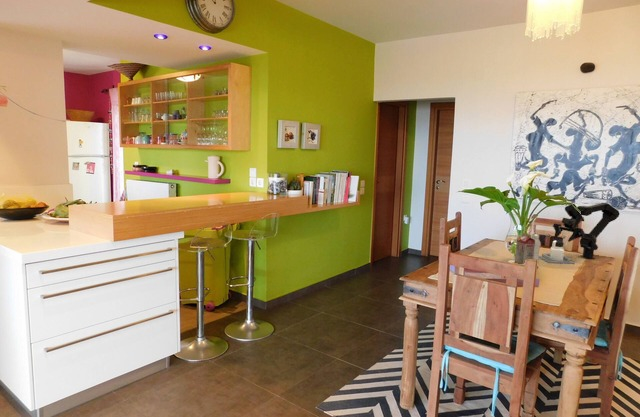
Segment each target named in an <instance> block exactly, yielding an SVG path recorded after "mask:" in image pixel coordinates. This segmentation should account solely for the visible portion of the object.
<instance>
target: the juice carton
mask: <svg viewBox="0 0 640 417" xmlns="http://www.w3.org/2000/svg"><path fill="white" fill-rule="evenodd" d="M515 245H516V246H515V255H514V256H515V257H514V263H518V264H524V263H525V260H526V259H533V256H534V247H535V240H534V239H532V235H531V234H528V233H527V232H526V233H525V232H522V233H521V235H520V236H519V237H517V238H516V244H515Z"/></svg>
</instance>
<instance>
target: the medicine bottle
mask: <svg viewBox="0 0 640 417" xmlns="http://www.w3.org/2000/svg"><path fill="white" fill-rule="evenodd" d="M551 245H552V246H551V247H550V250H549V251H550V252H549V254H550V257H551V258H553V259H552V260H556V261H563V257H564V256H565V255H564V254H565V249H564V241H561V240H553V241H552V244H551Z"/></svg>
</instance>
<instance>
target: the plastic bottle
mask: <svg viewBox="0 0 640 417" xmlns="http://www.w3.org/2000/svg"><path fill="white" fill-rule="evenodd" d="M531 238H532V239H534V240H535V247H534V256H533V259H536V260H537V261H538V266H539V265H540V260H539V259H540V258H539V256H540V255H539V254H540V250H541V249H540V248H541V246H542V243H541V241H540V234H539V233H532V235H531Z"/></svg>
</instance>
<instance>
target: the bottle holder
mask: <svg viewBox="0 0 640 417" xmlns="http://www.w3.org/2000/svg"><path fill="white" fill-rule="evenodd" d="M539 259H540V260H542V261H544V262H546V263H548V264H563V265H575V262H574V261H571V258H569V257H567V256H565V255H564V257H563V261H556V260H552V259H553V258H551V257H550V253H541V255H539Z"/></svg>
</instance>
